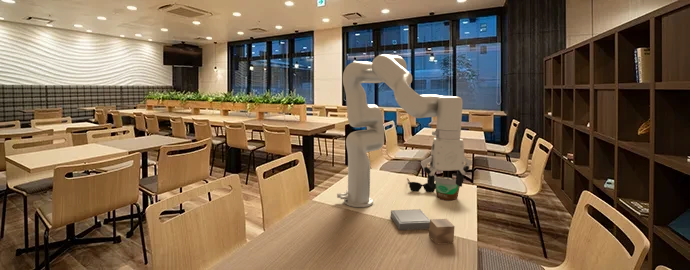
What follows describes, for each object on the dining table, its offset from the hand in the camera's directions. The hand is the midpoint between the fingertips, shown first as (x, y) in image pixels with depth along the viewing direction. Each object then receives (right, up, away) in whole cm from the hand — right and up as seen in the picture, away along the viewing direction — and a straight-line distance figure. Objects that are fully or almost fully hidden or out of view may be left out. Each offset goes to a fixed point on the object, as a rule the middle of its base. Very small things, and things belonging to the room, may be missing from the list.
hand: (445, 185), depth 108 cm
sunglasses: (+5, -10, +58) cm, 59 cm away
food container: (+13, -13, +40) cm, 44 cm away
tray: (-8, -16, +16) cm, 24 cm away
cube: (-1, -19, +3) cm, 19 cm away
